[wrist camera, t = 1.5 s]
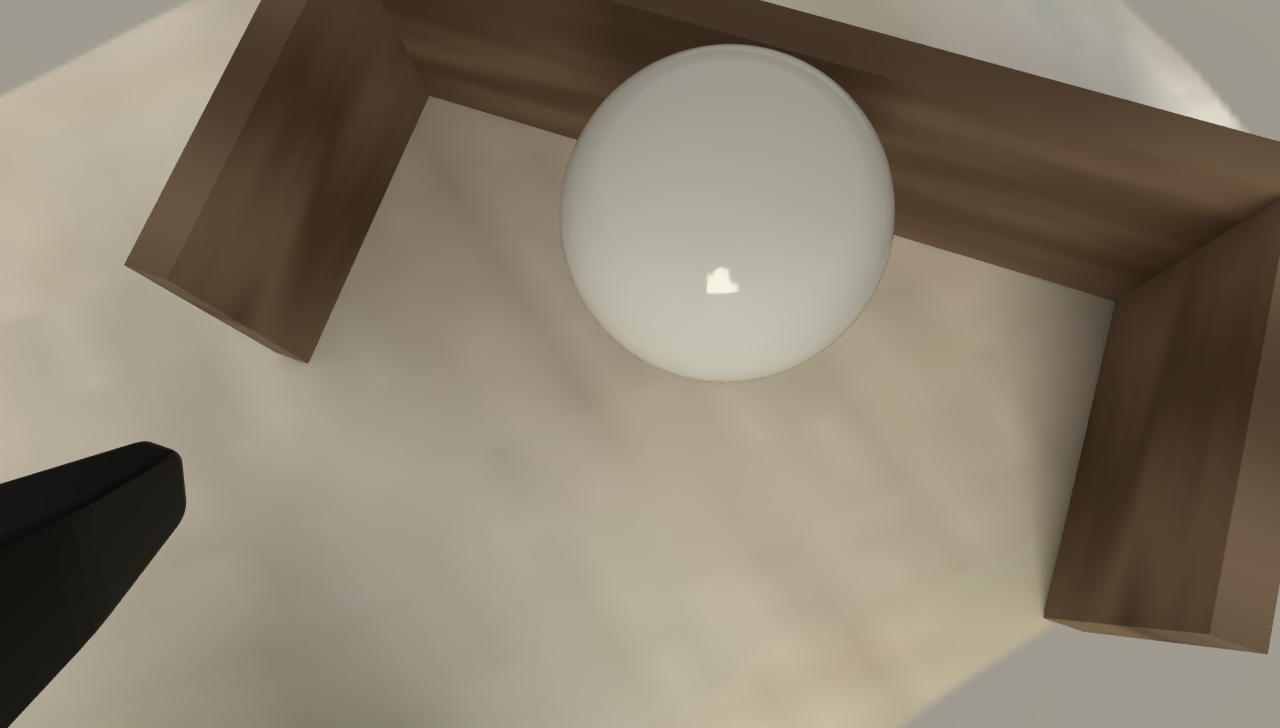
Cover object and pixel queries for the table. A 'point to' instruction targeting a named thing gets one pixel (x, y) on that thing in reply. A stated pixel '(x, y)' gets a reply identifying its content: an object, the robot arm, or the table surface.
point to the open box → (924, 212)
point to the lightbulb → (727, 213)
